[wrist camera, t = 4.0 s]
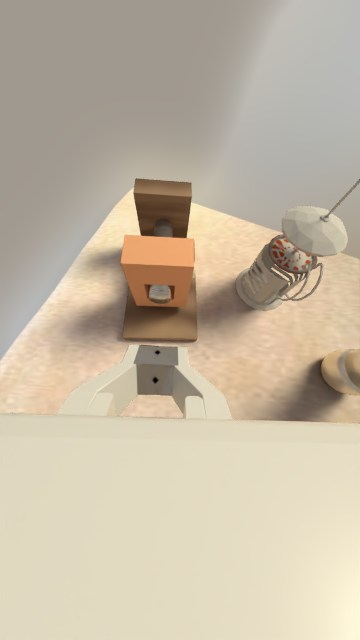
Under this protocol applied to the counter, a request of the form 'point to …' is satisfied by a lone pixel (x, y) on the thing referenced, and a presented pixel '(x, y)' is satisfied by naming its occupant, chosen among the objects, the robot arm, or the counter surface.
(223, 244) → the counter surface
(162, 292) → the steel pipe
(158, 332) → the pipe stand
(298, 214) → the french press
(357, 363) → the plastic bottle
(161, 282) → the collar
